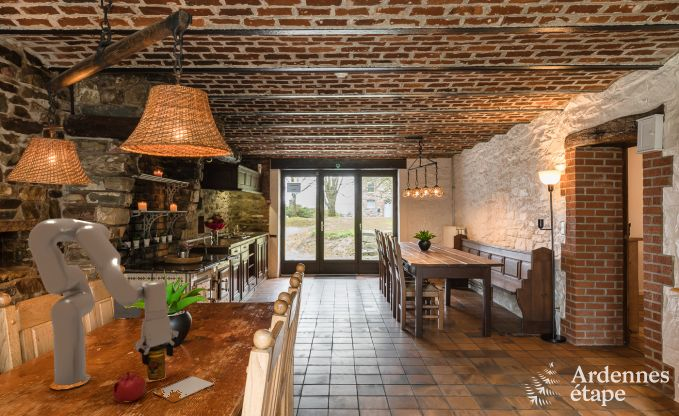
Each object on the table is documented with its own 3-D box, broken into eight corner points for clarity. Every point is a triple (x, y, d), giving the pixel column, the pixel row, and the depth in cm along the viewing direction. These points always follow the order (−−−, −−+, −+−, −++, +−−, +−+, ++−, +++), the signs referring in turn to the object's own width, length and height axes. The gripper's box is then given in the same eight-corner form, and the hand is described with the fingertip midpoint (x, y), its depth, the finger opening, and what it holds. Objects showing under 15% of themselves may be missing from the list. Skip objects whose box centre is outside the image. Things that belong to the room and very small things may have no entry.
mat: (152, 394, 142) (152, 392, 142) (192, 377, 155) (192, 376, 155) (174, 403, 135) (174, 401, 135) (214, 385, 148) (214, 383, 148)
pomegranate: (150, 391, 144) (150, 364, 144) (137, 405, 134) (137, 376, 134) (121, 392, 144) (121, 365, 144) (106, 406, 134) (105, 377, 134)
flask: (111, 319, 238) (111, 284, 238) (116, 317, 244) (115, 283, 244) (138, 319, 239) (138, 284, 239) (142, 316, 245) (142, 282, 244)
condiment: (147, 384, 150) (146, 350, 150) (144, 376, 157) (144, 344, 157) (169, 379, 154) (168, 346, 154) (165, 371, 161) (164, 340, 161)
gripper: (170, 307, 165) (172, 351, 165) (127, 318, 151) (130, 366, 151) (182, 310, 161) (184, 354, 161) (139, 321, 146) (141, 370, 147)
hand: (158, 360), depth 156 cm, fingers open, 9 cm apart
